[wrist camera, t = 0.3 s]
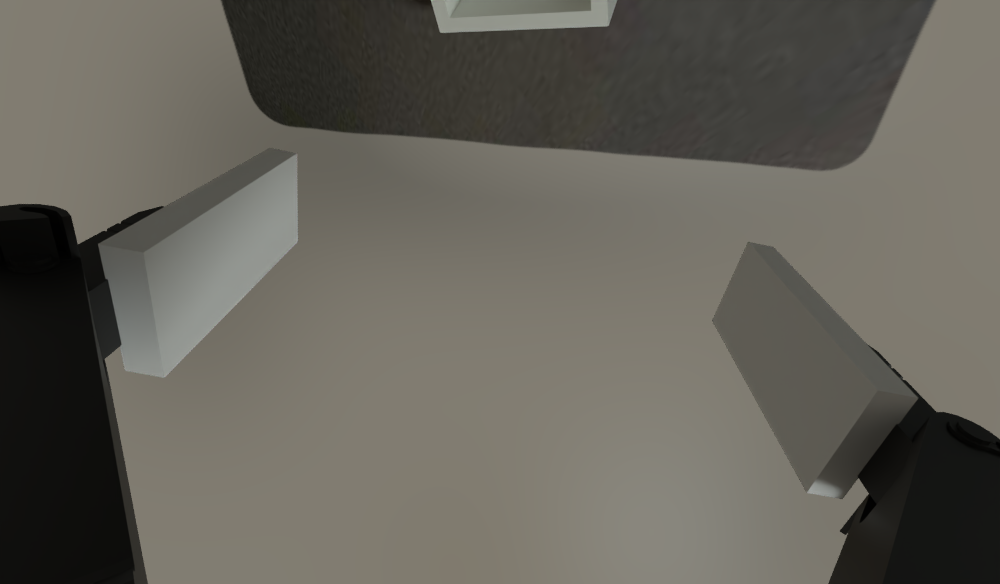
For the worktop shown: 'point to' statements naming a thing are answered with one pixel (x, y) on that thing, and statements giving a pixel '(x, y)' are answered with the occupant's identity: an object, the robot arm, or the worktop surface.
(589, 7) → the tray
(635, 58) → the worktop surface
